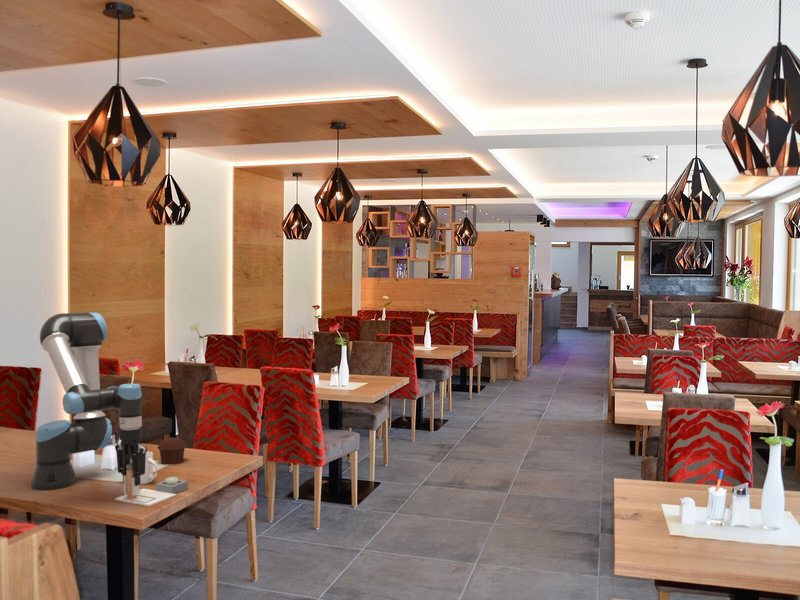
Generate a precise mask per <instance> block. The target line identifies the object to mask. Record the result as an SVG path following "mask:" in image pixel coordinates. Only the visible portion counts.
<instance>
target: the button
mask: <svg viewBox="0 0 800 600" xmlns="http://www.w3.org/2000/svg"><path fill="white" fill-rule="evenodd" d="M178 480H179V477H178V476H170V477H169V476H168V477H166V478H165V479H164V481H166V484H167V485H174V484H177V483H178Z"/></svg>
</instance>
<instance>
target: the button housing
mask: <svg viewBox="0 0 800 600" xmlns="http://www.w3.org/2000/svg"><path fill="white" fill-rule="evenodd" d="M188 489H189V481H188V480H183V479H178V483H177V484H174V485H167V484H166V481H165V480H163V481H160V482H157V483H155V491H161V492H167V493H172V494H176V495H177V494H179V493H181V492H184V491H186V490H188Z"/></svg>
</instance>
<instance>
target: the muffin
mask: <svg viewBox="0 0 800 600" xmlns="http://www.w3.org/2000/svg"><path fill="white" fill-rule="evenodd" d="M186 447H187V444H186V443H185V441H184V440H182V439H181V438H179V437H169V438H165V439H163V440H162V441H160V442H159V444H158V445H157V449H158V450H159V457H160V460H161V464H162V465H166V464H168V465H171V464H173V465H177V464H181V463H183V462H184V456H185V455H184V454H185V448H186Z"/></svg>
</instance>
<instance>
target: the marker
mask: <svg viewBox="0 0 800 600" xmlns="http://www.w3.org/2000/svg"><path fill="white" fill-rule="evenodd" d="M126 474H127V498H128V499H132V498H136V497H137V495H134V496H133V495H132V476H134V475H133V468H132V463H127V464H126Z"/></svg>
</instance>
